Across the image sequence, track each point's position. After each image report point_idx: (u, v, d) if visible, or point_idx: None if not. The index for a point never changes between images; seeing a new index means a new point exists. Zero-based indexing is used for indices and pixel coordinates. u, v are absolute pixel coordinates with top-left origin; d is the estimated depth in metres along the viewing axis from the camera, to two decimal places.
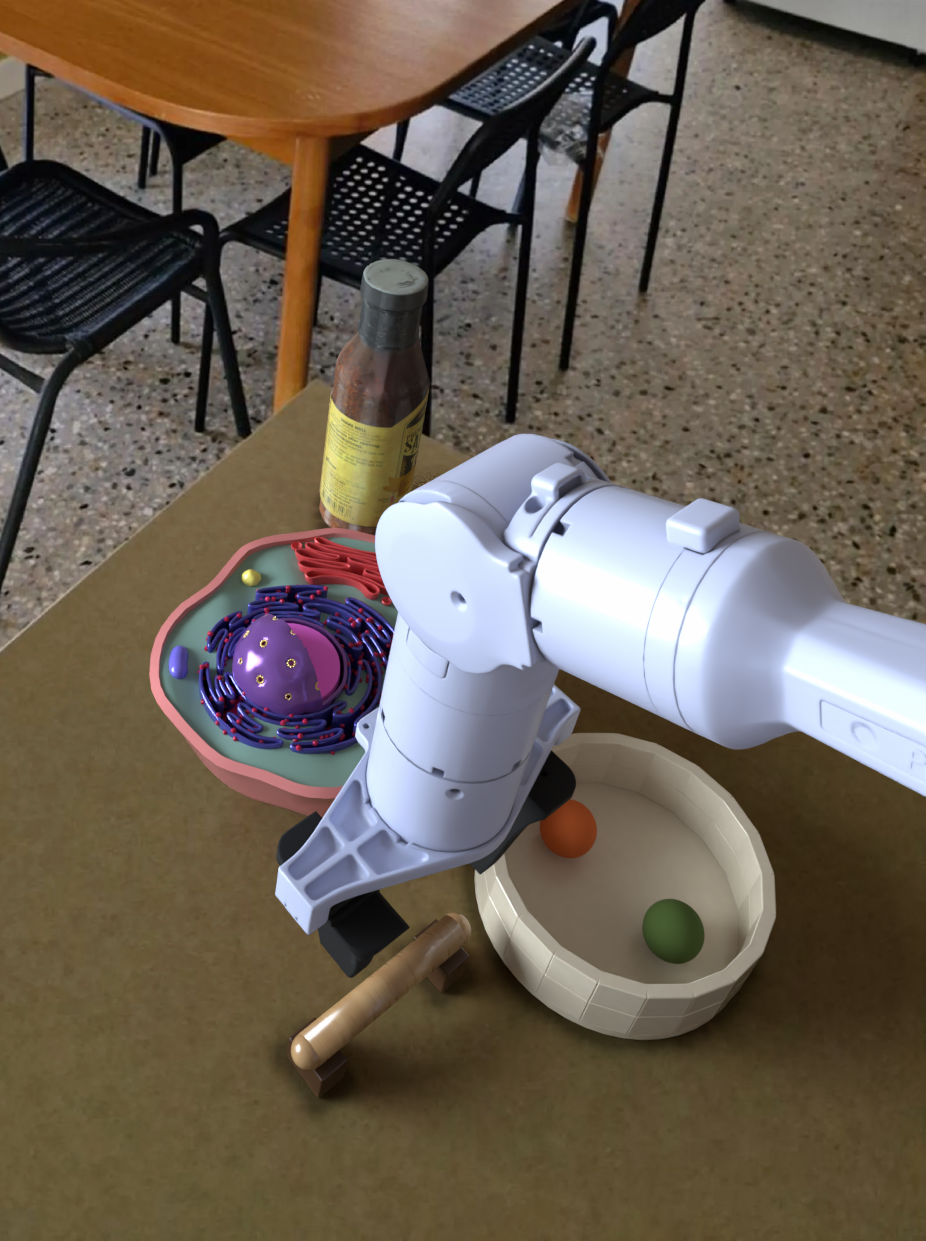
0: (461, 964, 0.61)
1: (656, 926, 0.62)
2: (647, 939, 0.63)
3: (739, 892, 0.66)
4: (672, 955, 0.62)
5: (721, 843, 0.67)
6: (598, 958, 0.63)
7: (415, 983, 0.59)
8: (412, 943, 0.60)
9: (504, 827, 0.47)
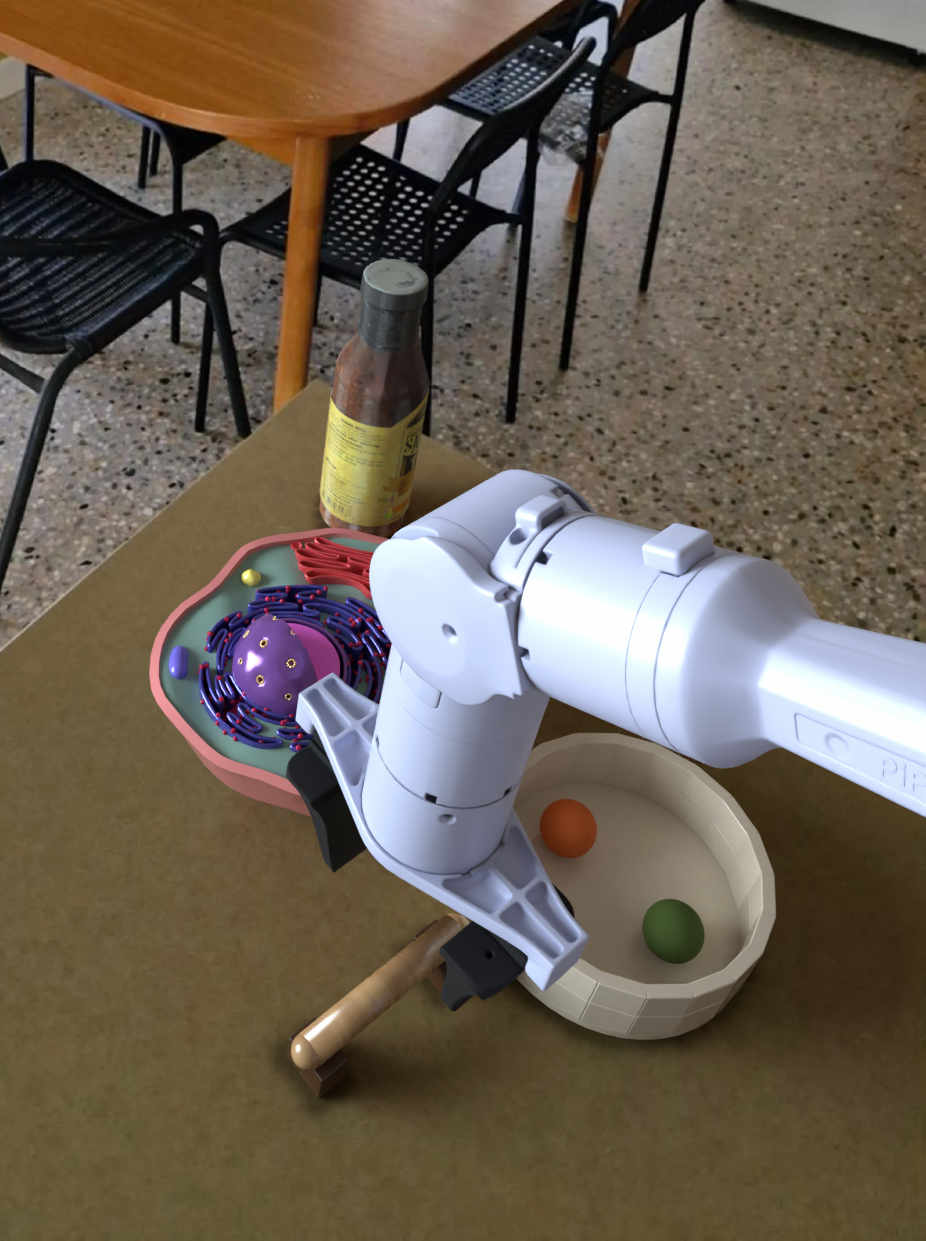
0: None
1: (656, 926, 0.62)
2: (647, 939, 0.63)
3: (739, 892, 0.66)
4: (672, 955, 0.62)
5: (721, 843, 0.67)
6: (598, 958, 0.63)
7: (415, 983, 0.59)
8: (412, 943, 0.60)
9: (392, 858, 0.48)
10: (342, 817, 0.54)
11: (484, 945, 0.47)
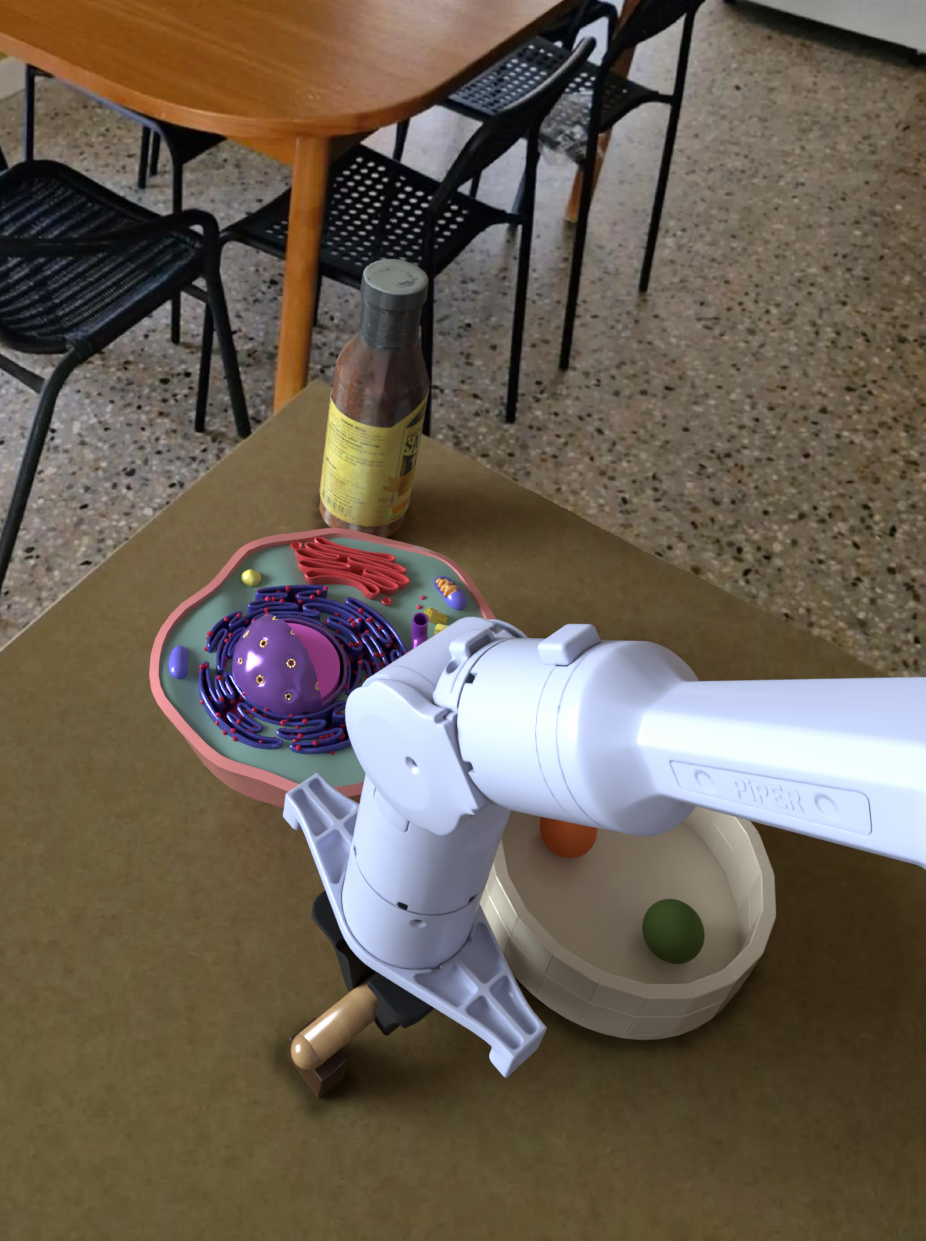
0: None
1: (656, 926, 0.62)
2: (647, 939, 0.63)
3: (739, 892, 0.66)
4: (672, 955, 0.62)
5: (721, 843, 0.67)
6: (598, 958, 0.63)
7: None
8: None
9: (369, 953, 0.52)
10: None
11: None
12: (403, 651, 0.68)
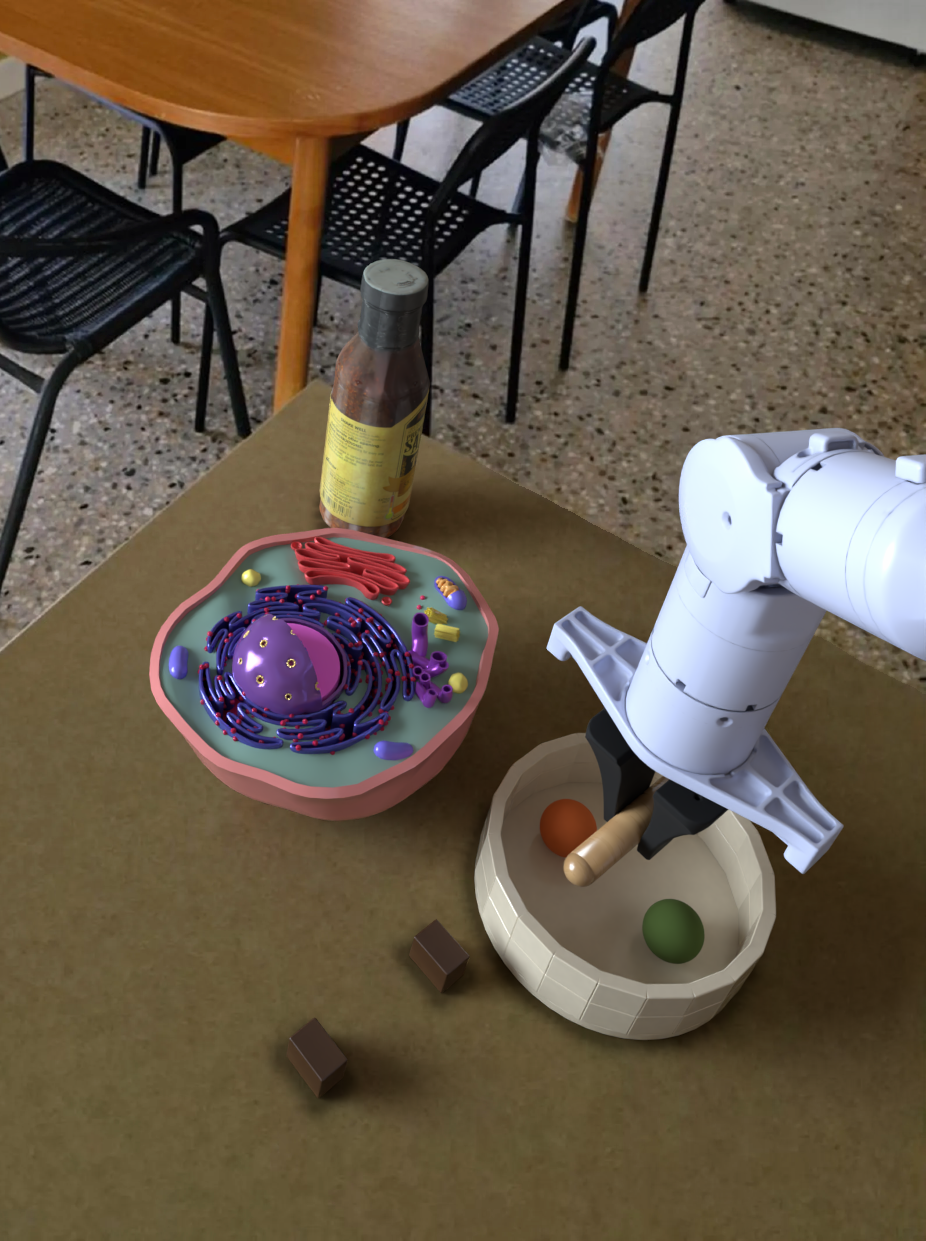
0: (461, 964, 0.61)
1: (656, 926, 0.62)
2: (647, 939, 0.63)
3: (739, 892, 0.66)
4: (672, 955, 0.62)
5: (721, 843, 0.67)
6: (598, 958, 0.63)
7: None
8: None
9: (662, 760, 0.54)
10: (632, 775, 0.59)
11: (691, 790, 0.56)
12: (403, 651, 0.68)
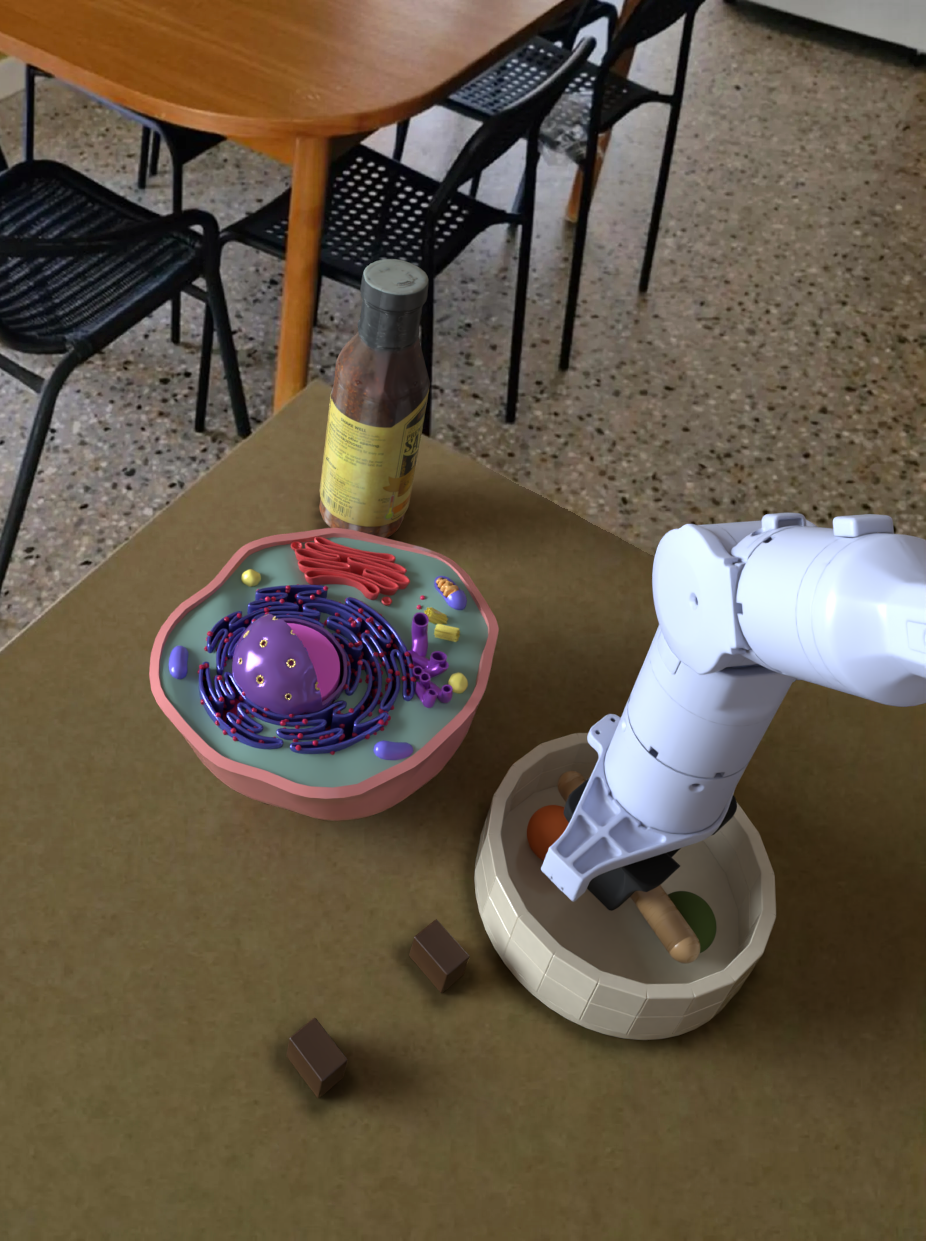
0: (461, 964, 0.61)
1: (680, 906, 0.63)
2: None
3: (739, 892, 0.66)
4: None
5: (721, 843, 0.67)
6: (598, 958, 0.63)
7: None
8: None
9: (722, 813, 0.58)
10: None
11: None
12: (403, 651, 0.68)
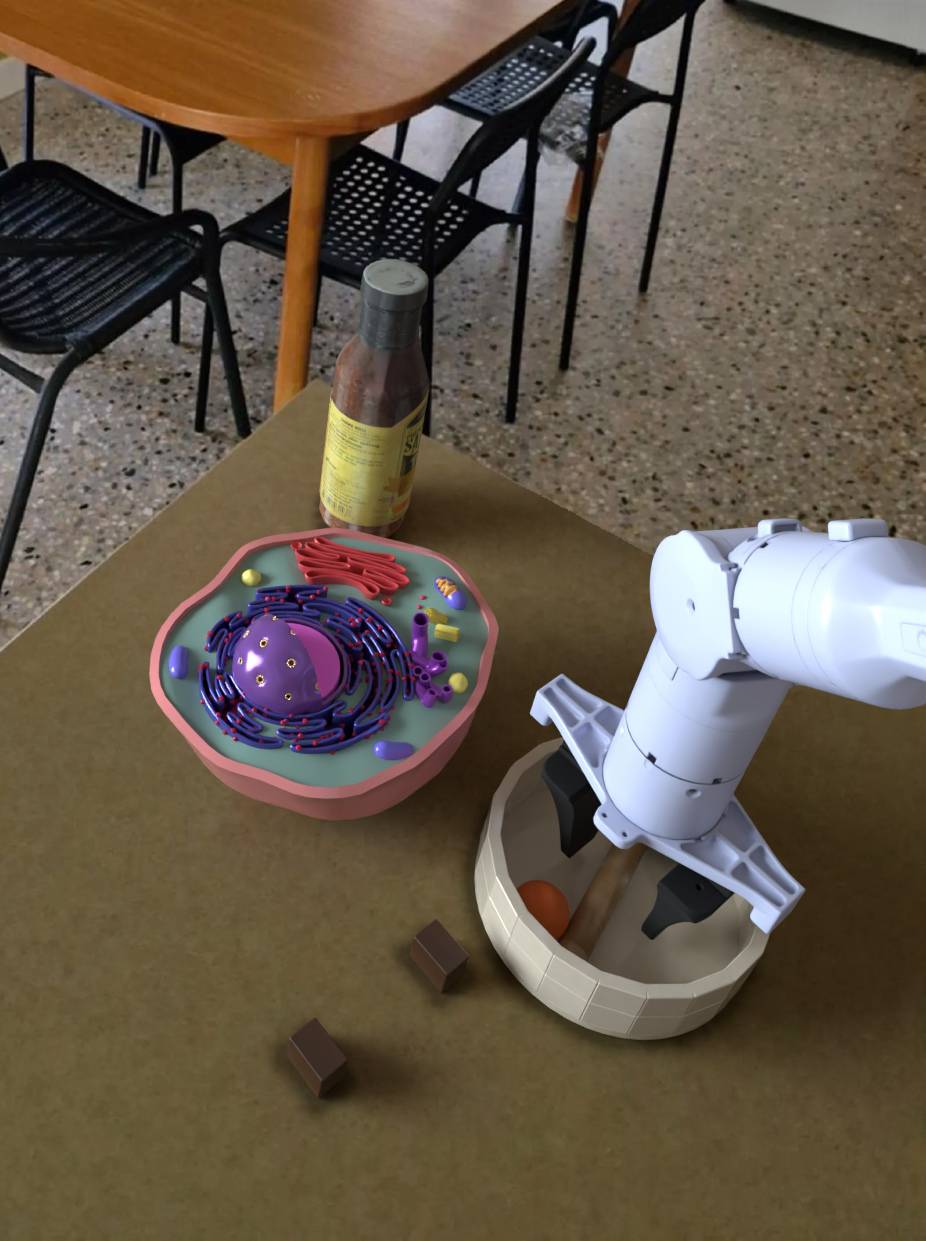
0: (461, 964, 0.61)
1: None
2: None
3: None
4: None
5: None
6: (598, 958, 0.63)
7: None
8: (590, 905, 0.64)
9: None
10: None
11: None
12: (403, 651, 0.68)
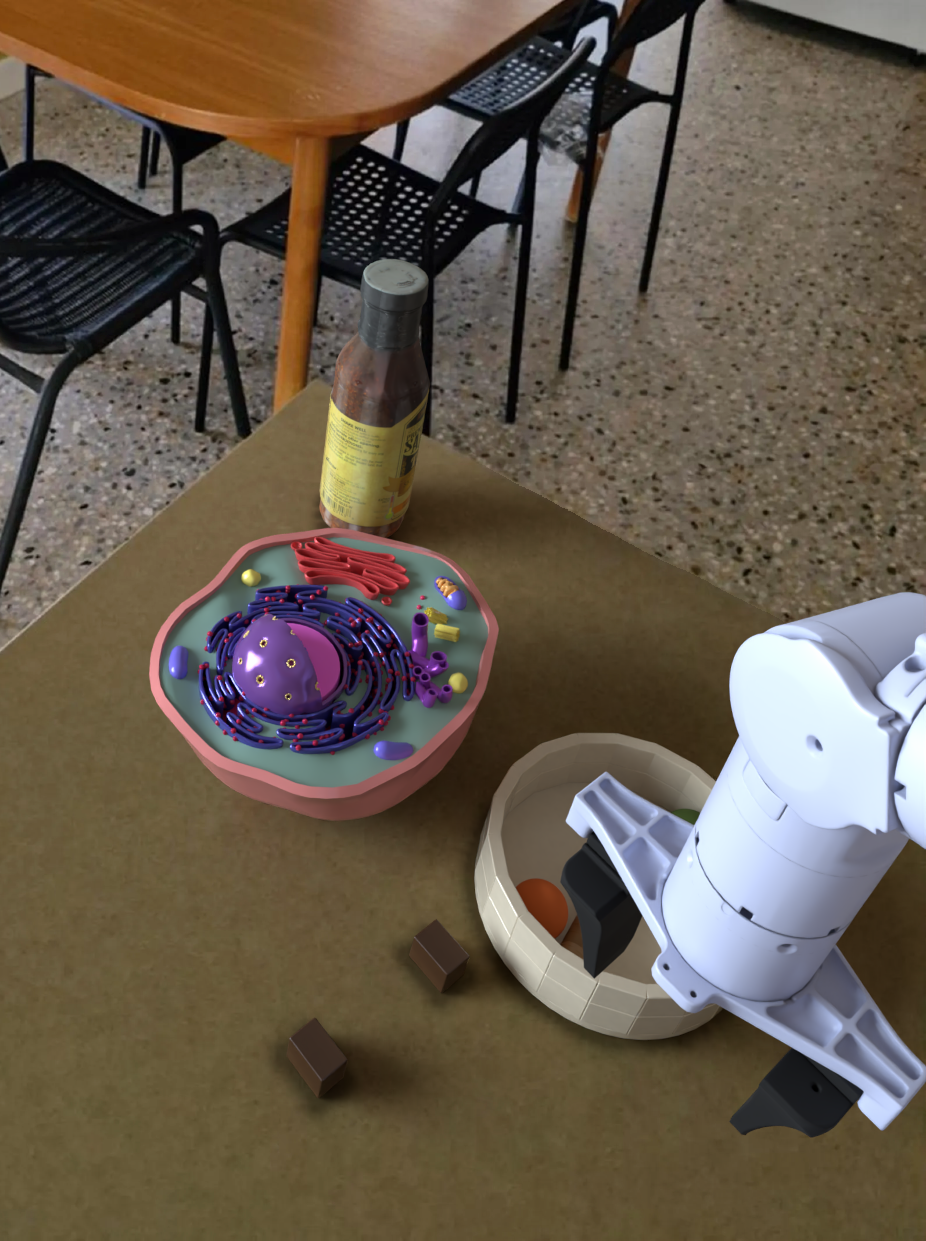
0: (461, 964, 0.61)
1: None
2: None
3: None
4: None
5: None
6: None
7: None
8: None
9: None
10: None
11: None
12: (403, 651, 0.68)
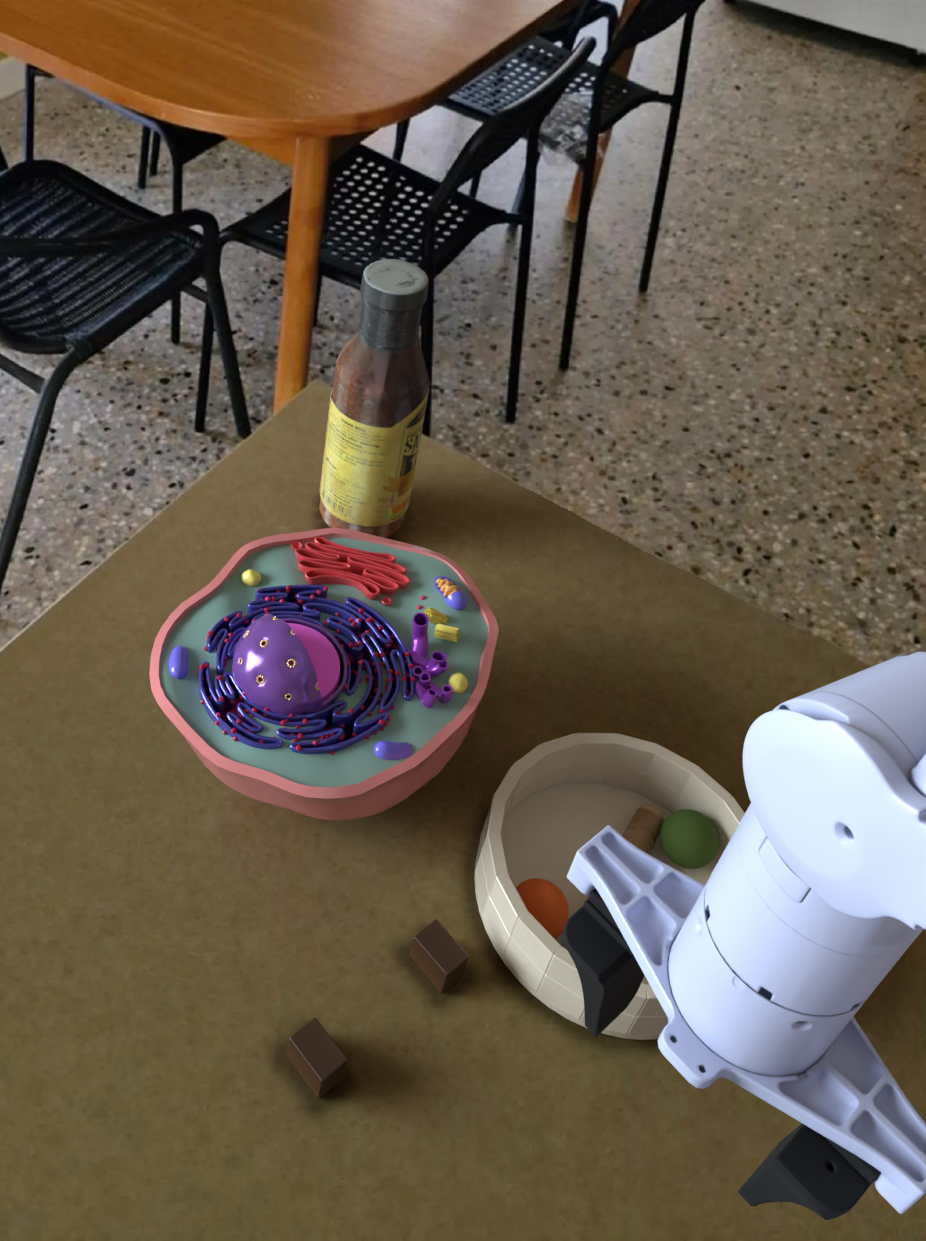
0: (461, 964, 0.61)
1: None
2: None
3: None
4: None
5: (721, 843, 0.67)
6: None
7: None
8: None
9: None
10: None
11: None
12: (403, 651, 0.68)
